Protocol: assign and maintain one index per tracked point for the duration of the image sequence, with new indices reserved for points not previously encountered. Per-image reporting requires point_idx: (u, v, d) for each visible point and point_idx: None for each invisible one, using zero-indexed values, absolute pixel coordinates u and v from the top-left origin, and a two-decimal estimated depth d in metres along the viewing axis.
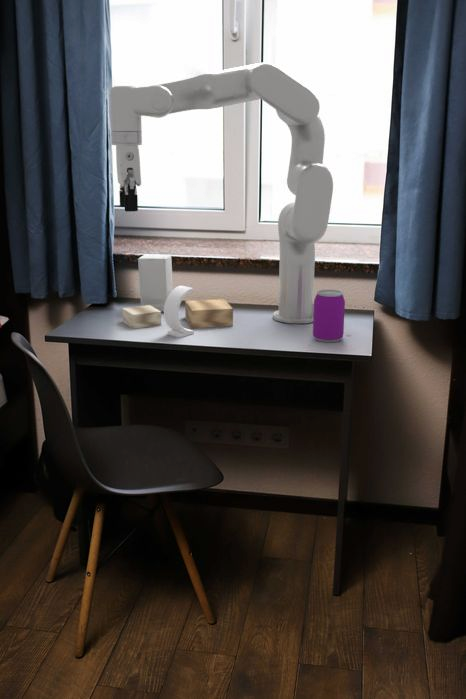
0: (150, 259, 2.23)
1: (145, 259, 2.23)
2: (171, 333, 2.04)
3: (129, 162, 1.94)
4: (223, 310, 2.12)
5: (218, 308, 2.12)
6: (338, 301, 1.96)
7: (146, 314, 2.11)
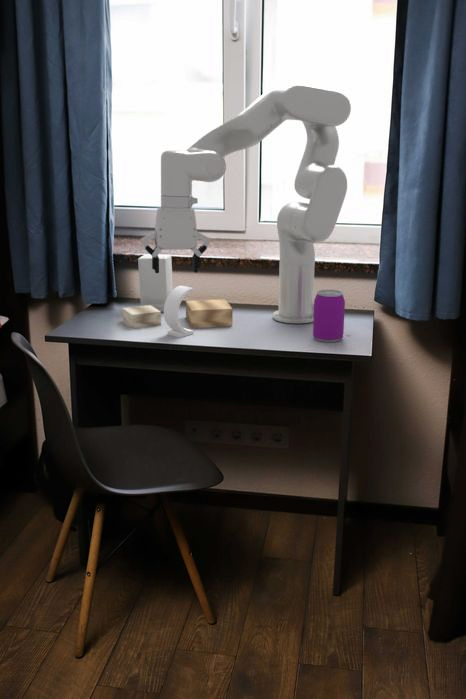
0: (150, 259, 2.23)
1: (145, 259, 2.23)
2: (171, 333, 2.04)
3: None
4: (222, 310, 2.12)
5: (217, 308, 2.12)
6: (338, 301, 1.96)
7: (145, 314, 2.11)
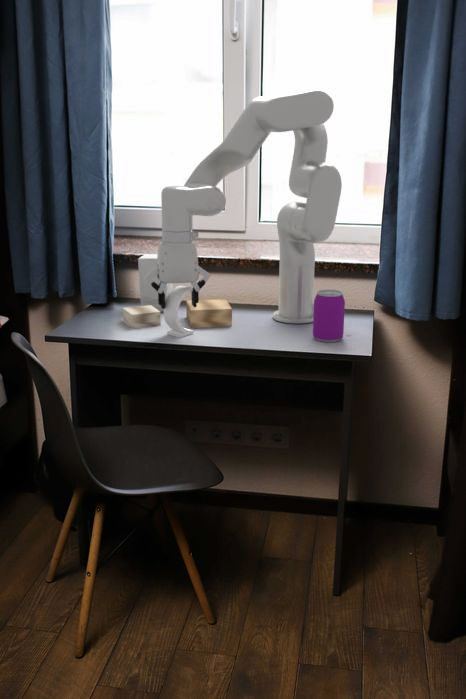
0: (150, 259, 2.23)
1: (145, 259, 2.23)
2: (171, 333, 2.04)
3: None
4: (222, 310, 2.12)
5: (217, 308, 2.12)
6: (338, 301, 1.96)
7: (145, 314, 2.11)
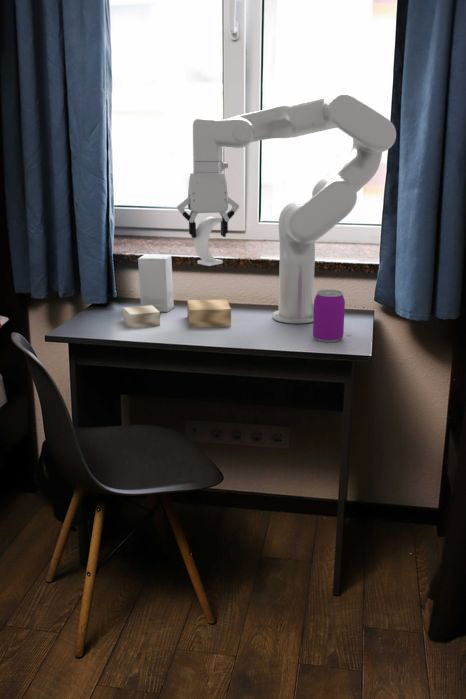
0: (150, 259, 2.23)
1: (145, 259, 2.23)
2: (201, 262, 2.12)
3: None
4: (221, 310, 2.11)
5: (216, 308, 2.12)
6: (338, 301, 1.96)
7: (144, 314, 2.11)
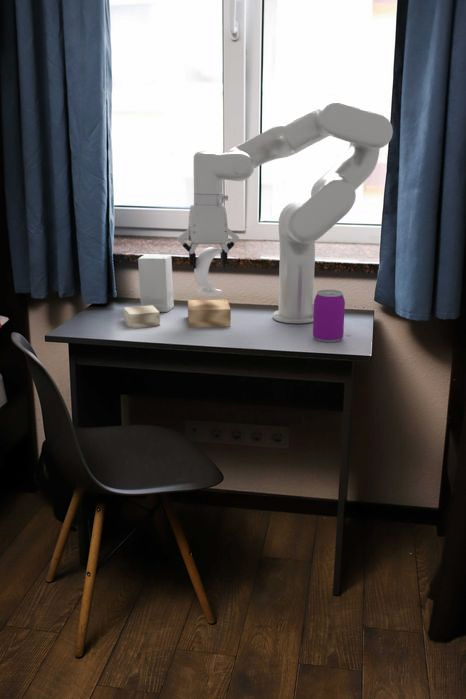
0: (150, 259, 2.23)
1: (145, 259, 2.23)
2: (201, 292, 2.14)
3: None
4: (220, 310, 2.11)
5: (216, 308, 2.12)
6: (338, 301, 1.96)
7: (144, 314, 2.11)
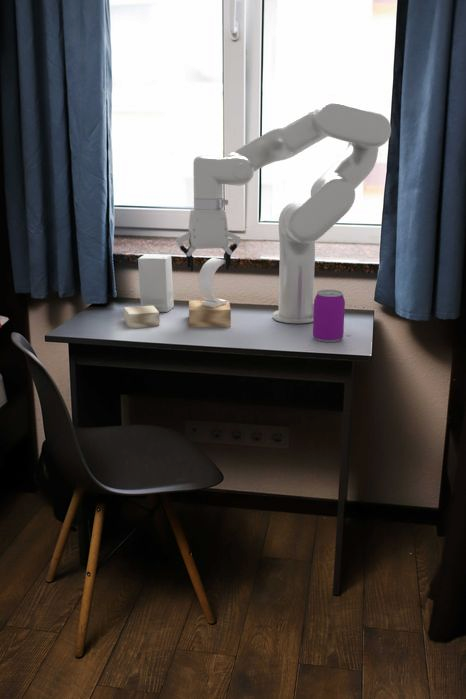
0: (150, 259, 2.23)
1: (145, 259, 2.23)
2: (205, 303, 2.15)
3: None
4: (220, 311, 2.11)
5: (216, 309, 2.12)
6: (338, 301, 1.96)
7: (143, 314, 2.11)
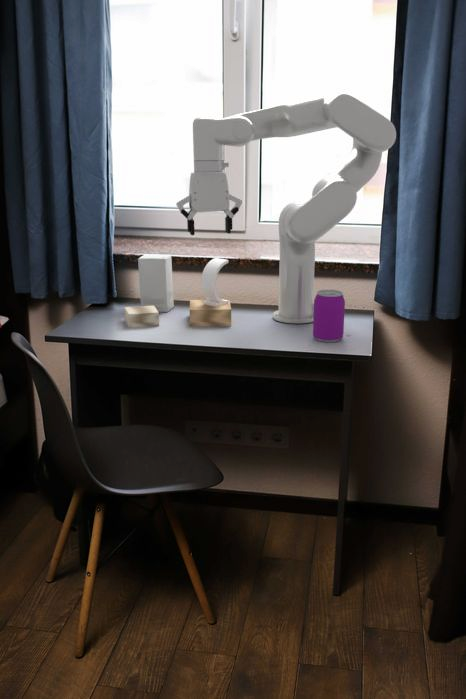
0: (150, 259, 2.23)
1: (145, 259, 2.23)
2: (208, 303, 2.16)
3: None
4: (221, 310, 2.12)
5: (217, 308, 2.12)
6: (338, 301, 1.96)
7: (143, 314, 2.11)
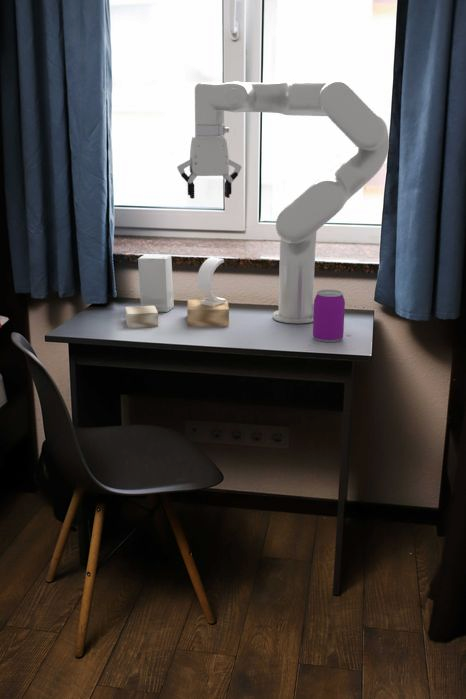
0: (150, 259, 2.23)
1: (145, 259, 2.23)
2: (205, 303, 2.16)
3: None
4: (219, 310, 2.12)
5: (214, 308, 2.12)
6: (338, 301, 1.96)
7: (142, 314, 2.11)
